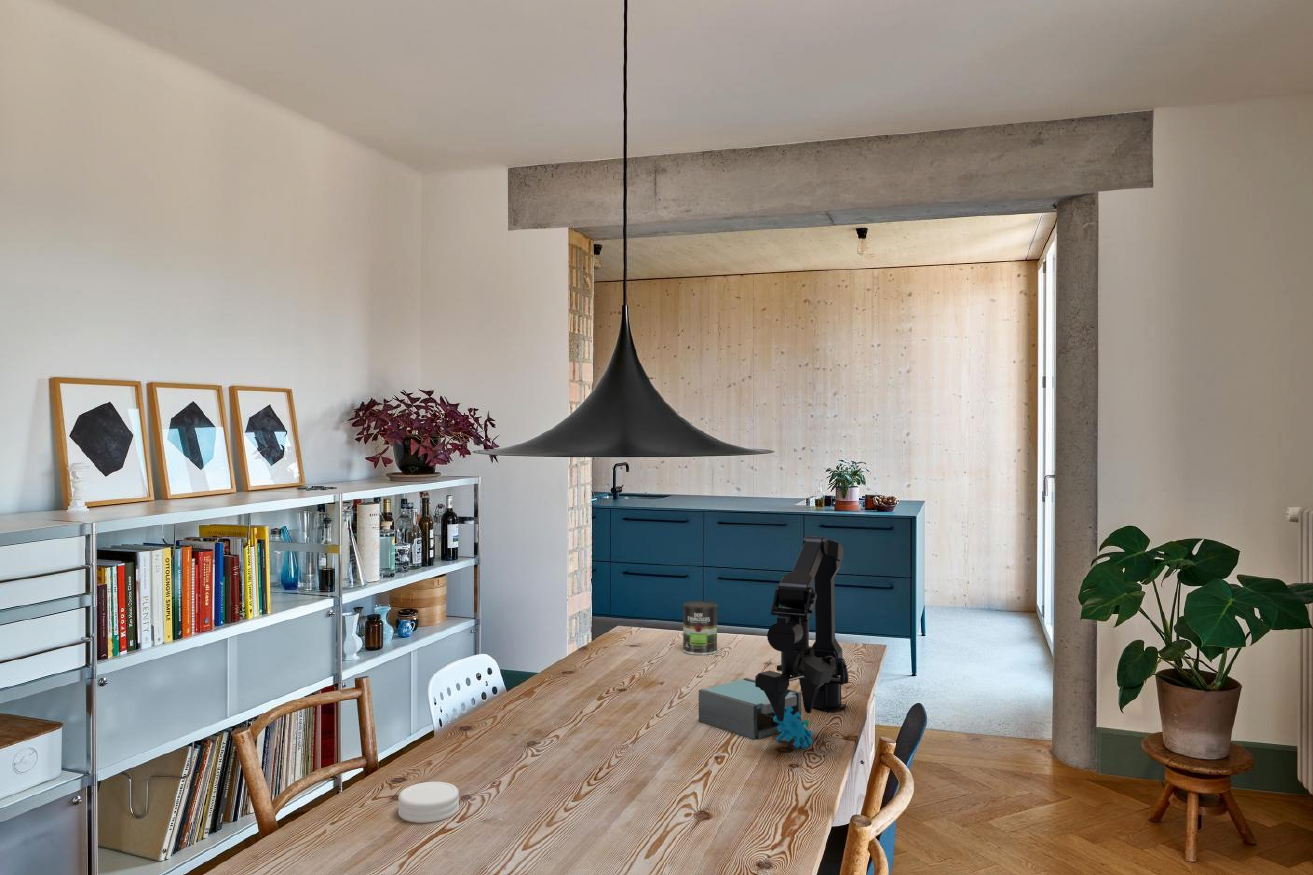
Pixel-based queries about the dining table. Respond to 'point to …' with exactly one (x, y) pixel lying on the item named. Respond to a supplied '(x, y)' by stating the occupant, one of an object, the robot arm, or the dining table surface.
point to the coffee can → (700, 627)
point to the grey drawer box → (737, 714)
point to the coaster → (428, 802)
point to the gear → (794, 729)
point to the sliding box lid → (750, 694)
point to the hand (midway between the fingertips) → (794, 716)
